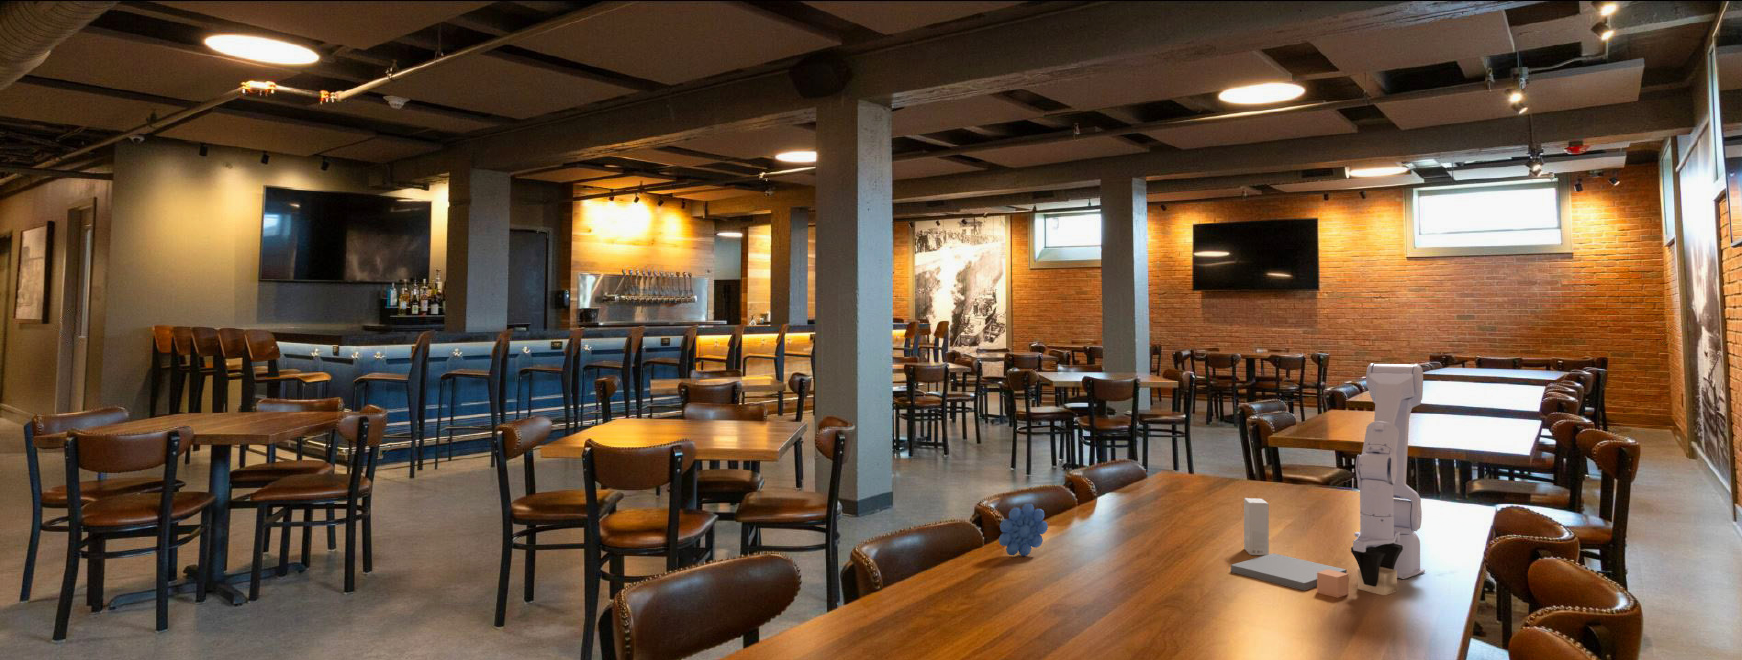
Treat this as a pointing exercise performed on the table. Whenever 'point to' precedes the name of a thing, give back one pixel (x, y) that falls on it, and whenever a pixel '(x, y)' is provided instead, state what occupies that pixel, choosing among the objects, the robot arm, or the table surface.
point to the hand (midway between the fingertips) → (1377, 582)
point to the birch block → (1381, 582)
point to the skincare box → (1256, 526)
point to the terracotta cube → (1332, 583)
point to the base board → (1283, 570)
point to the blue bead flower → (1023, 530)
